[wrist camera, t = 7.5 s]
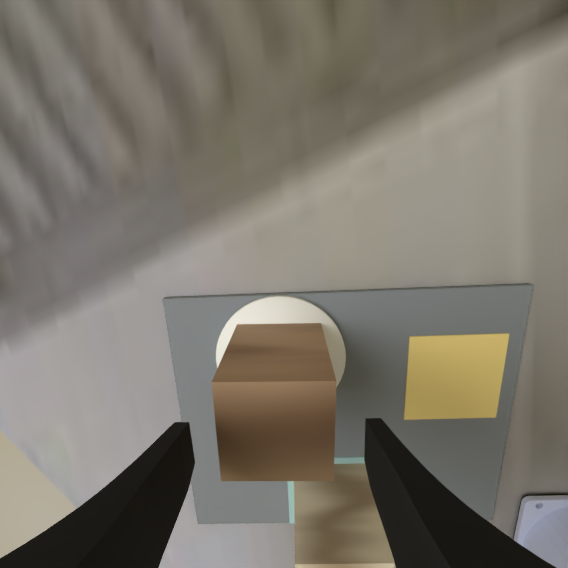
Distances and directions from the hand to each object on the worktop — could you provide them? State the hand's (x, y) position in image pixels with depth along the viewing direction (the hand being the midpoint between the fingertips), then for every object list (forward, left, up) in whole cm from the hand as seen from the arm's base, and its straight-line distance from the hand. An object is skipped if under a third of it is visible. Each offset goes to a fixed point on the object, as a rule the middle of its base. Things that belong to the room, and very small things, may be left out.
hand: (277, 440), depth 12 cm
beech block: (-3, +11, -7) cm, 13 cm away
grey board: (-4, +5, -7) cm, 10 cm away
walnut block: (0, 0, -7) cm, 6 cm away
